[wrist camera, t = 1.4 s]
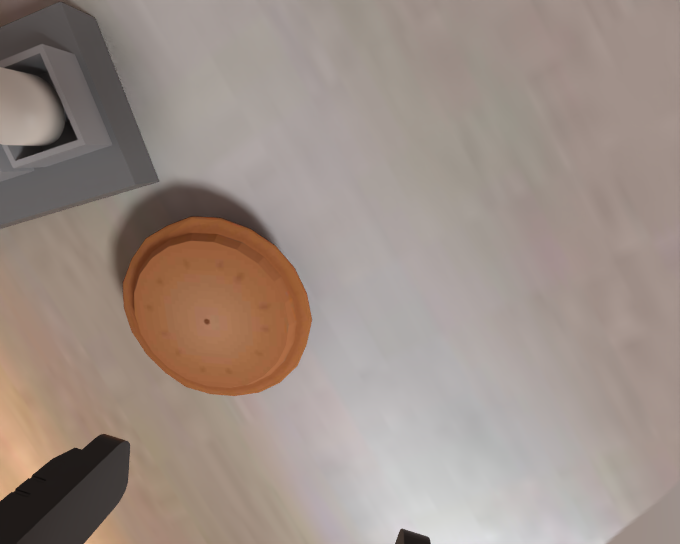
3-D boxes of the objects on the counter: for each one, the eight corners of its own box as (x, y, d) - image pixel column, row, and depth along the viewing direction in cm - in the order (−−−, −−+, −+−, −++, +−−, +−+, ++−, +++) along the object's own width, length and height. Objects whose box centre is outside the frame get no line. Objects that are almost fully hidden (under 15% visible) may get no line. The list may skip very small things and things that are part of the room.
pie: (355, 296, 31) (350, 321, 26) (248, 400, 36) (228, 438, 31) (213, 169, 29) (180, 173, 24) (120, 298, 34) (77, 321, 29)
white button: (-10, 85, 24) (-51, 78, 22) (44, 64, 23) (7, 54, 21) (23, 153, 25) (-13, 153, 23) (76, 135, 24) (44, 133, 22)
